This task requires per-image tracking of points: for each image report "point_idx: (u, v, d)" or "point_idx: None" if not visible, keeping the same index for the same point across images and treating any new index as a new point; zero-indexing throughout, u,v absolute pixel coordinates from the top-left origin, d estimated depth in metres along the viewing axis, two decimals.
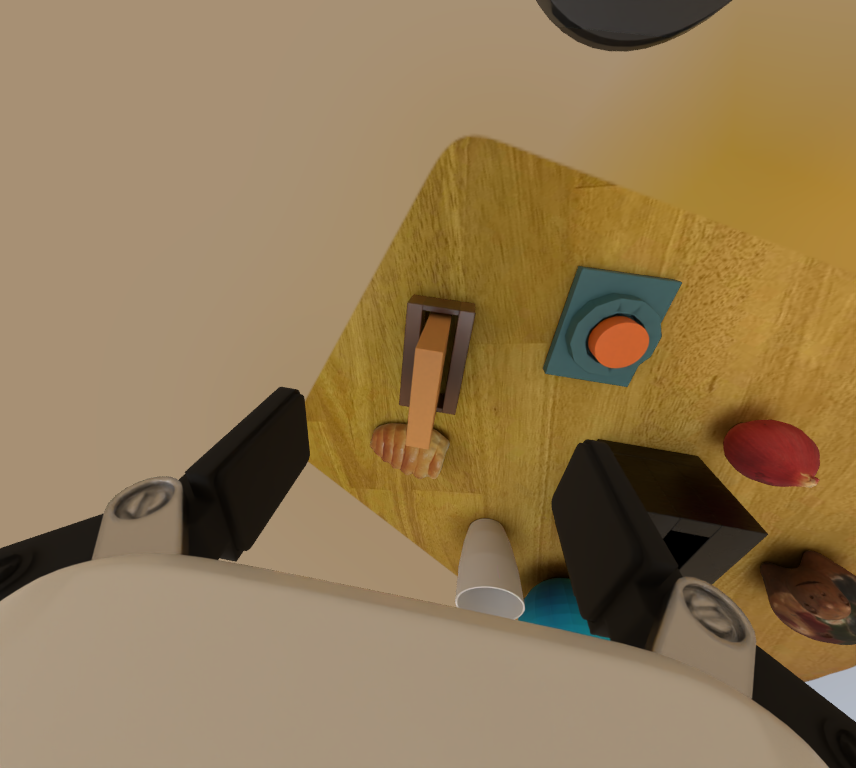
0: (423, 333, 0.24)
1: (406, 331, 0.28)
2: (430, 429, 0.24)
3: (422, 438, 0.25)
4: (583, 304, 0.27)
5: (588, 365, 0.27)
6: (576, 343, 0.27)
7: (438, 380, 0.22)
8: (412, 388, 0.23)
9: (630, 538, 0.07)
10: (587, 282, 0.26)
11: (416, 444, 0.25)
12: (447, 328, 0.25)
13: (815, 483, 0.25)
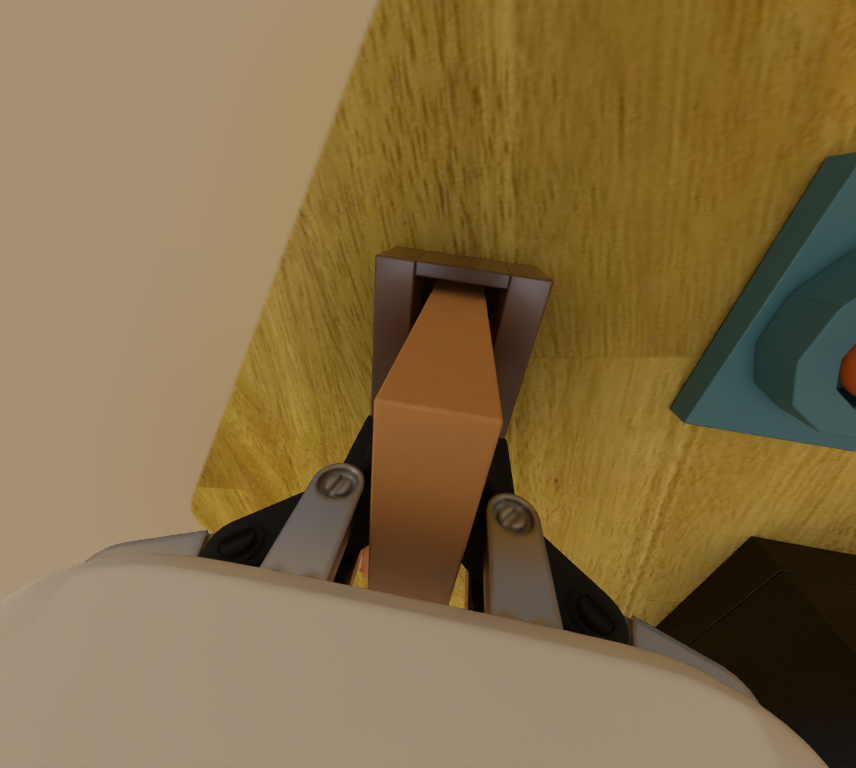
0: (414, 334, 0.07)
1: (376, 330, 0.12)
2: None
3: None
4: (832, 260, 0.10)
5: (828, 415, 0.11)
6: (817, 361, 0.10)
7: (470, 516, 0.06)
8: (373, 533, 0.06)
9: None
10: None
11: None
12: (485, 320, 0.09)
13: None
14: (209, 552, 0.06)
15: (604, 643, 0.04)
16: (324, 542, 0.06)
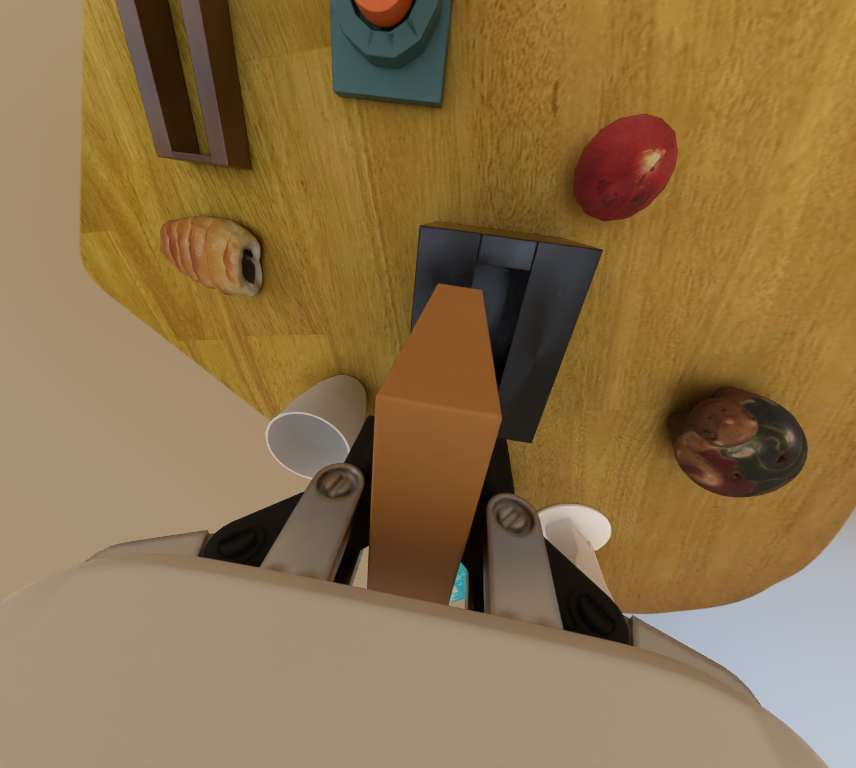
0: (414, 336, 0.07)
1: (117, 2, 0.20)
2: None
3: None
4: None
5: (362, 37, 0.20)
6: None
7: (470, 514, 0.06)
8: (373, 532, 0.06)
9: None
10: None
11: None
12: (483, 323, 0.09)
13: (658, 153, 0.17)
14: (209, 552, 0.06)
15: (604, 643, 0.04)
16: (324, 542, 0.06)
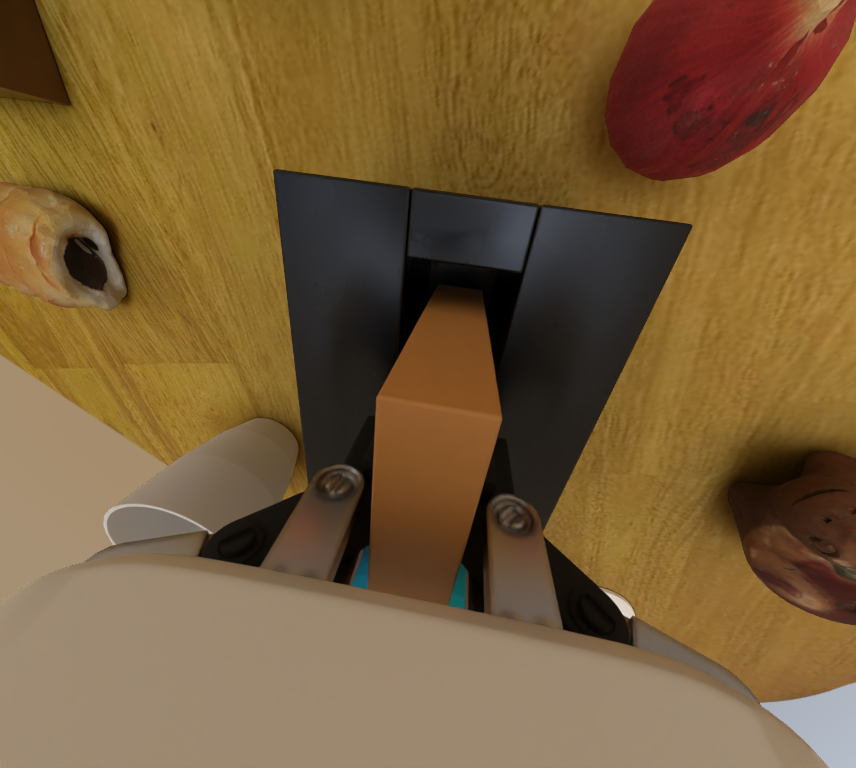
0: (414, 336, 0.07)
1: None
2: None
3: None
4: None
5: None
6: None
7: (470, 515, 0.06)
8: (374, 532, 0.06)
9: None
10: None
11: None
12: (484, 324, 0.09)
13: None
14: (209, 552, 0.06)
15: (604, 643, 0.04)
16: (324, 542, 0.06)
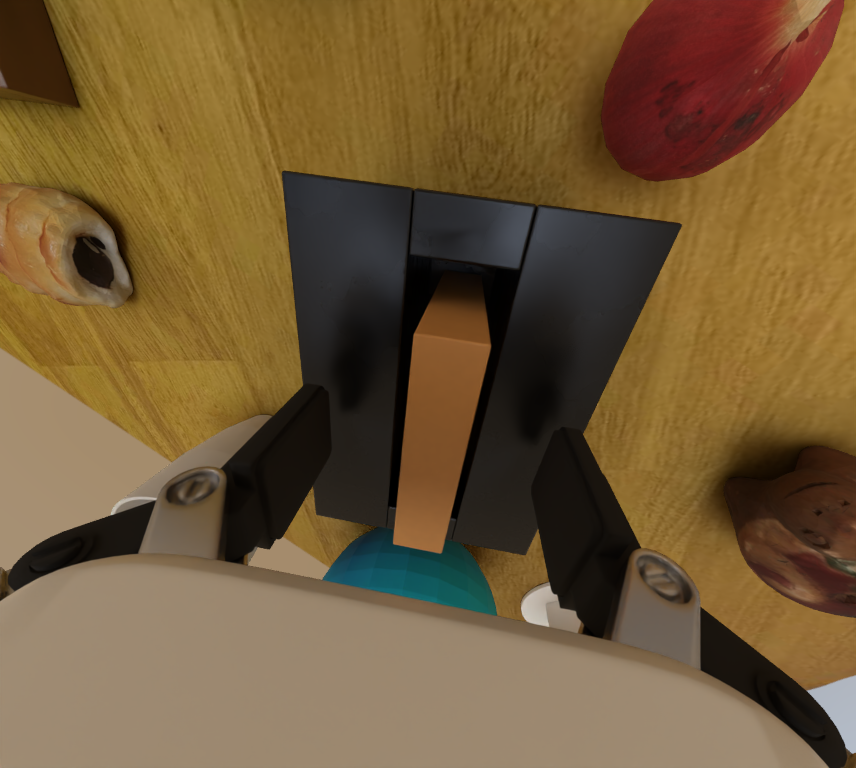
0: (432, 304, 0.10)
1: None
2: (447, 518, 0.11)
3: (428, 534, 0.12)
4: None
5: None
6: None
7: (471, 417, 0.09)
8: (406, 434, 0.09)
9: (593, 514, 0.07)
10: None
11: (416, 543, 0.12)
12: (481, 298, 0.12)
13: None
14: (18, 578, 0.05)
15: (604, 643, 0.04)
16: None
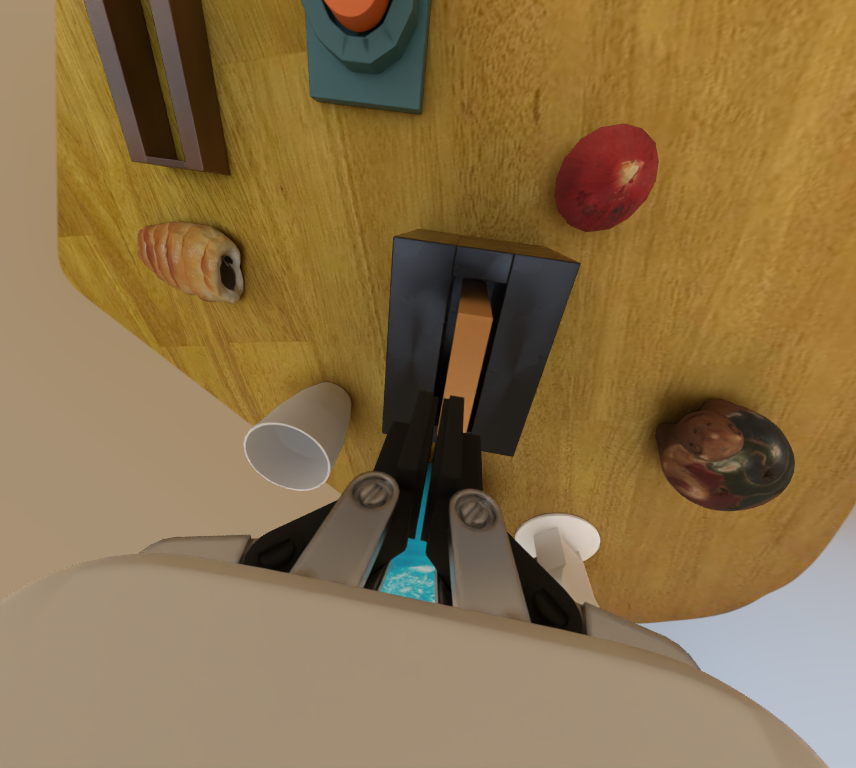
0: (462, 300, 0.20)
1: (85, 3, 0.20)
2: (468, 415, 0.21)
3: None
4: None
5: (336, 42, 0.19)
6: None
7: (483, 354, 0.18)
8: (450, 364, 0.19)
9: (437, 462, 0.08)
10: None
11: None
12: (487, 297, 0.21)
13: (636, 165, 0.16)
14: (249, 560, 0.06)
15: (604, 643, 0.04)
16: (367, 554, 0.06)
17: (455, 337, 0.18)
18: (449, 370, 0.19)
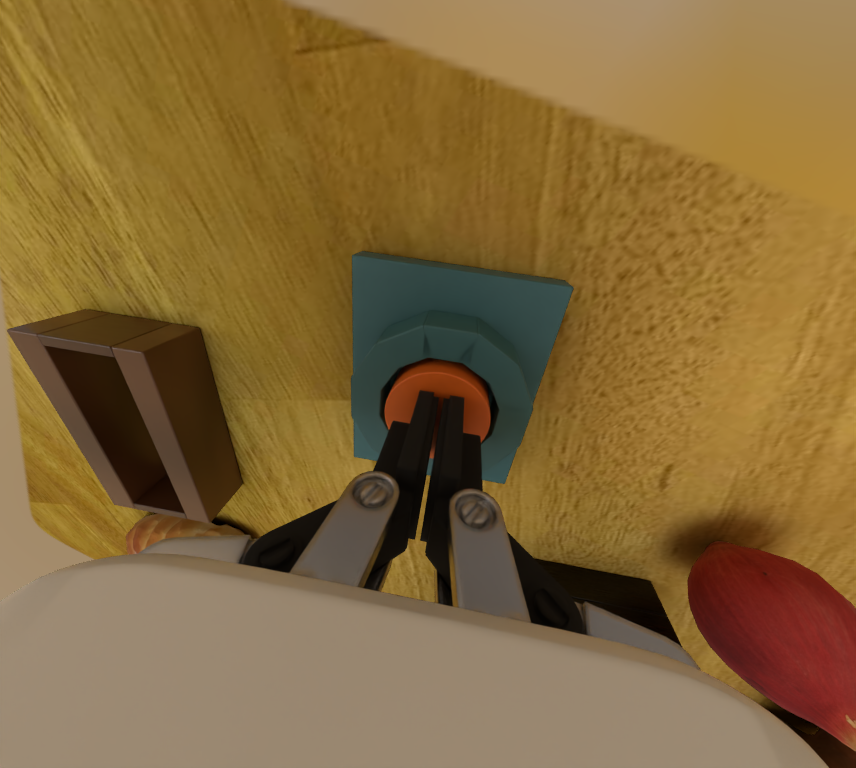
0: None
1: (42, 385, 0.14)
2: None
3: None
4: (379, 333, 0.12)
5: None
6: (363, 417, 0.12)
7: None
8: None
9: (437, 462, 0.08)
10: (372, 286, 0.12)
11: None
12: None
13: None
14: (249, 560, 0.06)
15: (604, 643, 0.04)
16: (367, 554, 0.06)
17: None
18: None
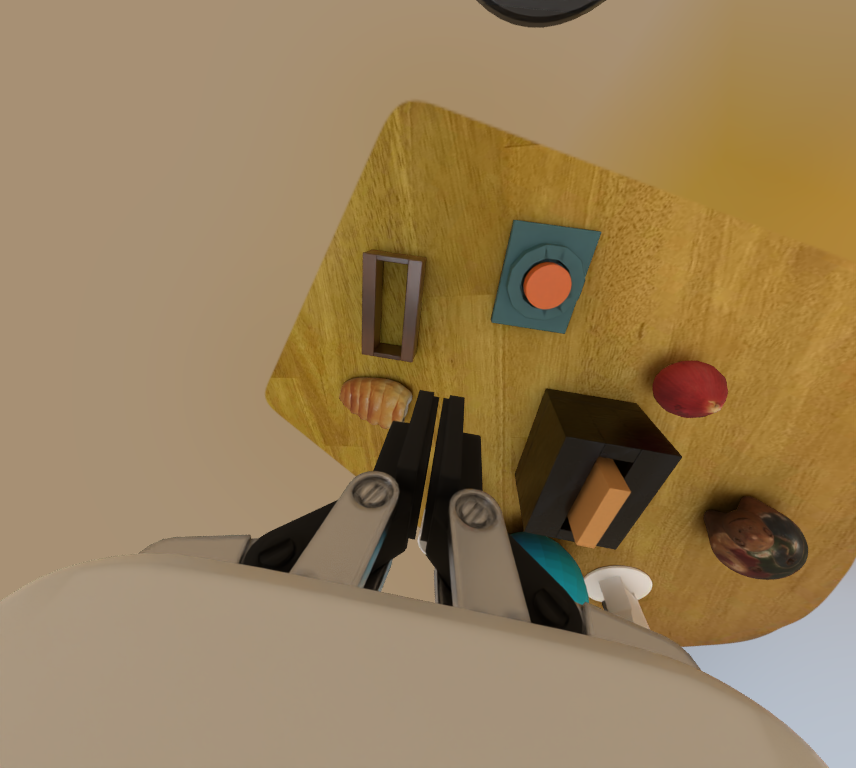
0: (600, 466, 0.31)
1: (363, 280, 0.31)
2: (601, 536, 0.32)
3: (592, 541, 0.33)
4: (519, 254, 0.30)
5: (525, 310, 0.31)
6: (512, 288, 0.30)
7: (620, 507, 0.30)
8: (597, 511, 0.30)
9: (436, 462, 0.08)
10: (520, 233, 0.29)
11: (585, 544, 0.33)
12: None
13: (719, 407, 0.28)
14: (249, 560, 0.06)
15: (604, 643, 0.04)
16: (367, 554, 0.06)
17: (604, 498, 0.30)
18: (595, 513, 0.31)
